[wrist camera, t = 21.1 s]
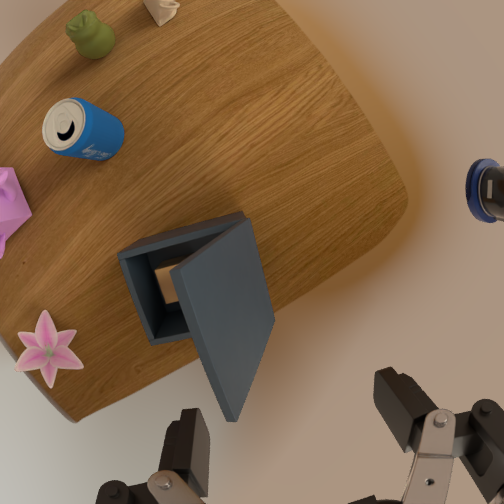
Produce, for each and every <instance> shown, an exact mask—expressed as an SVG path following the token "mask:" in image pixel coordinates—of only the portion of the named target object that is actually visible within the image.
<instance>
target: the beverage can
mask: <svg viewBox="0 0 504 504" xmlns="http://www.w3.org/2000/svg"><path fill="white" fill-rule="evenodd" d="M42 134H43V139H44V141H45V143H46V145H47V146H48V147H49V148H50V149H51V150H52V151H53V152H54V153H56V154H58V155H63V156H71V157H78V158H85V159H91V160H98V161H102V160H107V159H109V158H111V157H112V156H114V155H115V154H116V153H117V152H118V151H119V149H120V147H121V146H122V143H123V140H124V128H123V125H122V123H121V122H120V120H119V119H117V118H116V117H114V116H113V115H111V114H109V113H107V112H105V111H104V110H102V109H100V108H98V107H96V106H95V105H93V104H91V103H89V102H87V101H85V100H83V99H81V98H69V99H64V100H61V101H59V102H57V103H56V104H55V105H54V106H53V107H52V108H51V109H50V110H49V111H48V113H47V115H46V117H45V119H44V123H43V128H42Z"/></svg>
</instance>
